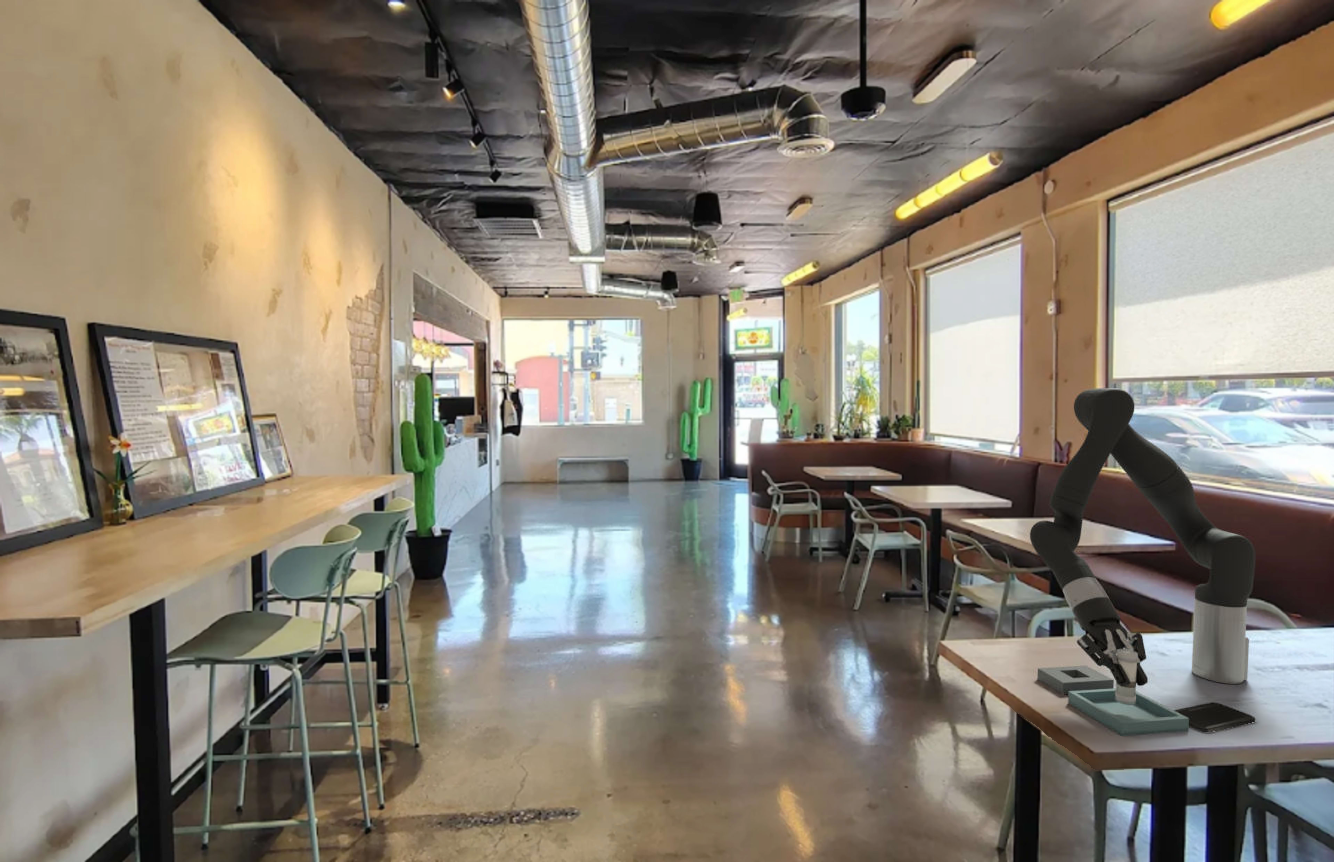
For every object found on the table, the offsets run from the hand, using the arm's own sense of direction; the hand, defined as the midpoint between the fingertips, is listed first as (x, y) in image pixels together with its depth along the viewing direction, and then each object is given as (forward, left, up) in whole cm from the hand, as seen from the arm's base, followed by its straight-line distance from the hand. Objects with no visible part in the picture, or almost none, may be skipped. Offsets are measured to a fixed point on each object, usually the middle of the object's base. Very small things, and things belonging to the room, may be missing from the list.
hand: (1134, 684), depth 133 cm
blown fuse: (0, -2, -4) cm, 5 cm away
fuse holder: (-1, -17, -7) cm, 19 cm away
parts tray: (0, -2, -7) cm, 8 cm away
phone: (-16, +1, -8) cm, 18 cm away
